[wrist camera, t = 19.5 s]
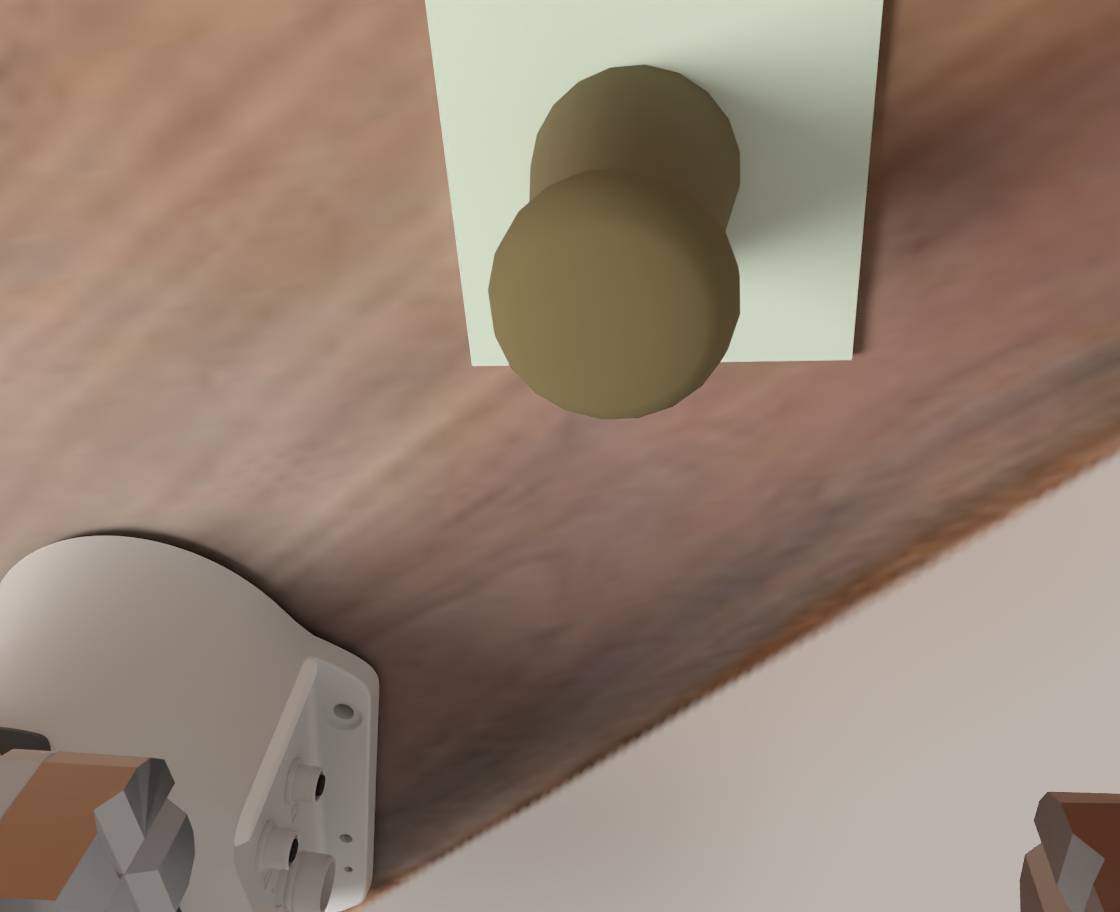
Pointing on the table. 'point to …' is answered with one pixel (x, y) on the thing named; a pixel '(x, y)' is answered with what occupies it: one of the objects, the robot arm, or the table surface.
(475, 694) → the table surface
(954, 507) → the table surface
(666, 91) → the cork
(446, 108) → the mat
